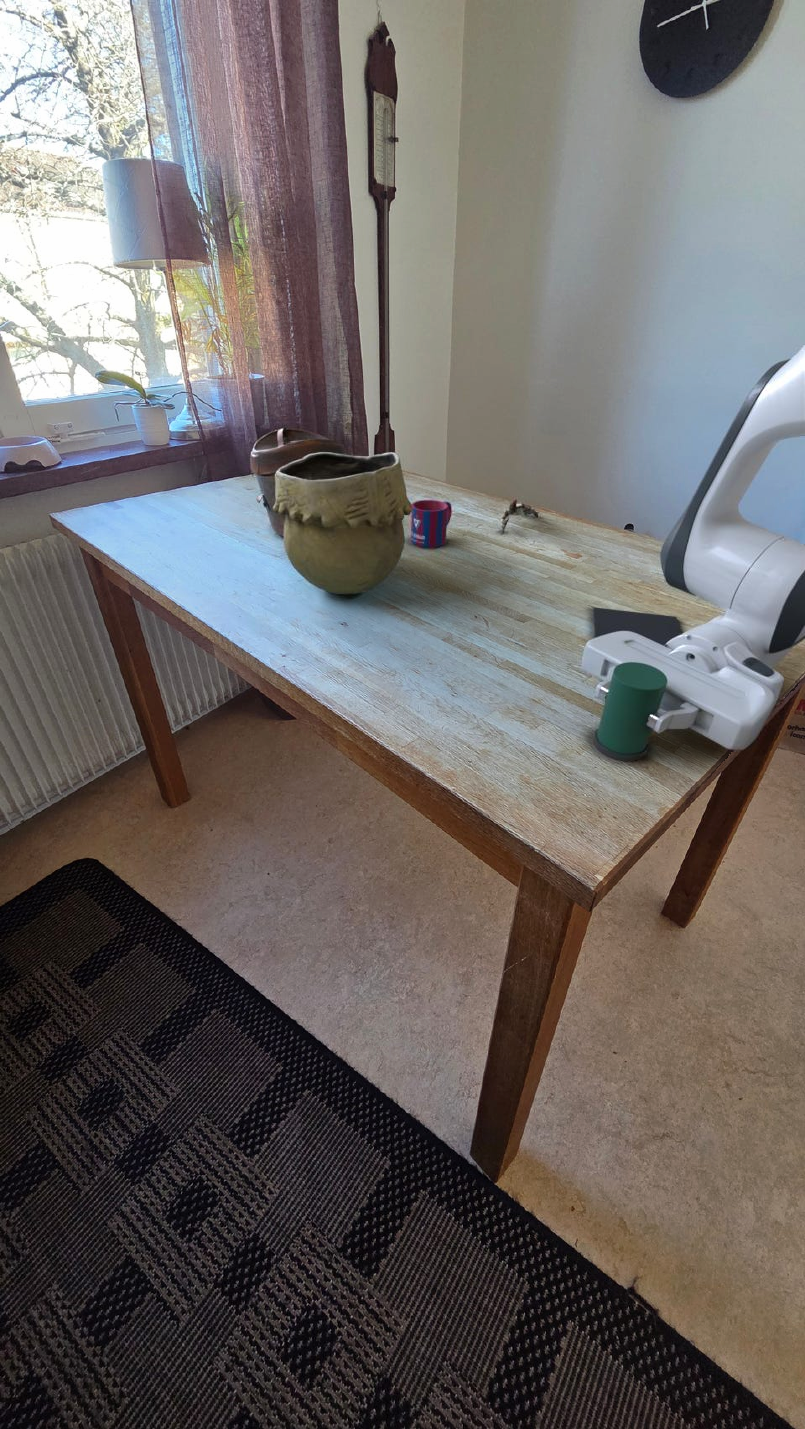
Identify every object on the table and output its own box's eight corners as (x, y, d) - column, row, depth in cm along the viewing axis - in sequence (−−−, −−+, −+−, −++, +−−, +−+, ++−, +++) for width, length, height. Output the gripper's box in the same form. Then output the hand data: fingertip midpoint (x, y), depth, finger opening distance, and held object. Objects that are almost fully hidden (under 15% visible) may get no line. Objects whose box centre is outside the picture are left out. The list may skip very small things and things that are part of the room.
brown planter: (289, 507, 129) (280, 415, 118) (370, 524, 121) (368, 427, 111) (233, 532, 116) (218, 432, 105) (320, 552, 109) (313, 446, 98)
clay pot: (251, 599, 93) (232, 463, 81) (325, 553, 108) (317, 433, 97) (370, 629, 86) (368, 485, 74) (430, 576, 101) (437, 450, 89)
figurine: (518, 531, 129) (497, 534, 116) (509, 515, 129) (487, 516, 116) (542, 515, 126) (523, 516, 113) (533, 499, 126) (513, 497, 113)
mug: (403, 541, 114) (403, 504, 110) (439, 529, 120) (441, 494, 116) (428, 550, 110) (430, 513, 106) (464, 538, 116) (467, 502, 112)
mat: (675, 619, 90) (676, 616, 90) (687, 660, 81) (688, 656, 80) (592, 610, 92) (593, 607, 92) (595, 648, 83) (596, 645, 82)
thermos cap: (643, 733, 68) (666, 664, 62) (648, 765, 63) (673, 694, 58) (592, 725, 68) (610, 657, 63) (594, 756, 64) (613, 686, 59)
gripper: (630, 609, 74) (554, 641, 67) (801, 684, 61) (728, 733, 54) (618, 653, 78) (545, 688, 71) (776, 733, 65) (706, 785, 58)
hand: (626, 708), depth 62 cm, fingers closed on thermos cap, 5 cm apart
